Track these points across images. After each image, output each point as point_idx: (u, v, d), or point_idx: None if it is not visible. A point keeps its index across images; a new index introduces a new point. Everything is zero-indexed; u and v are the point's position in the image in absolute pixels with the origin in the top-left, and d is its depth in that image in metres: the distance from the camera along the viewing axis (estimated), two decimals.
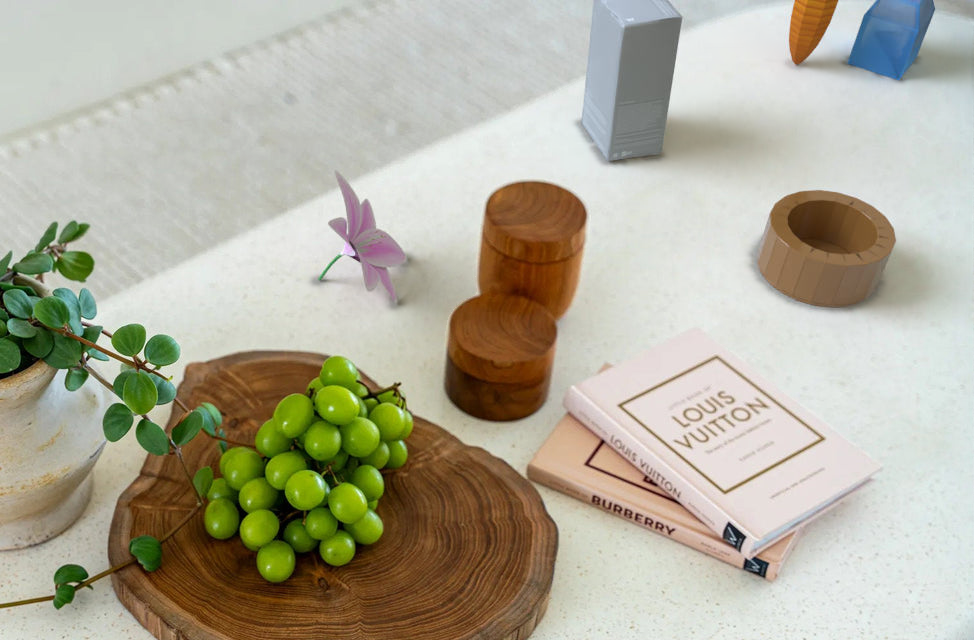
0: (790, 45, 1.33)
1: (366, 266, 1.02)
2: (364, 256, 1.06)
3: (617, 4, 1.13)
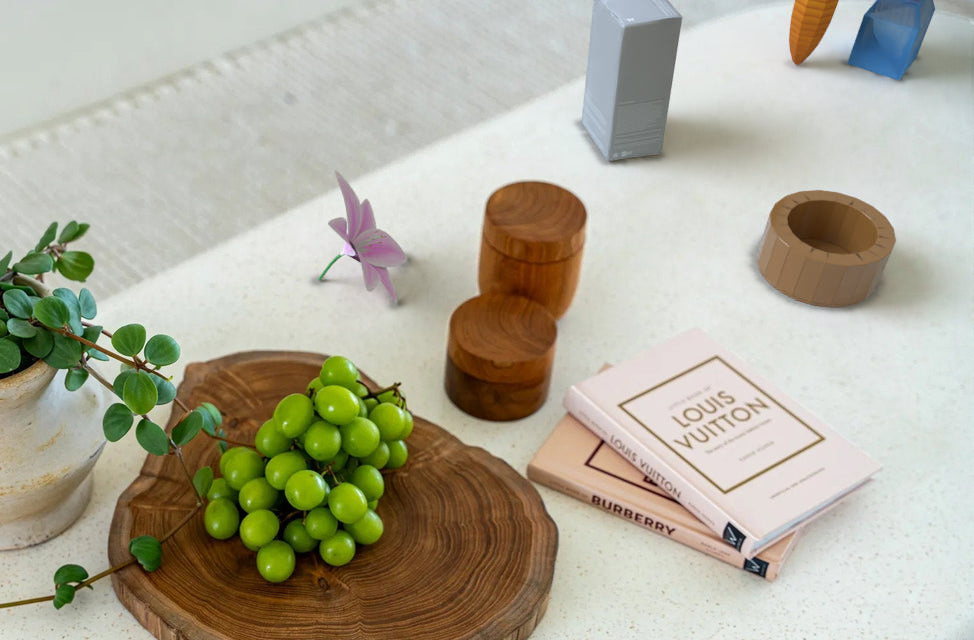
0: (790, 45, 1.33)
1: (366, 266, 1.02)
2: (364, 256, 1.06)
3: (617, 4, 1.13)
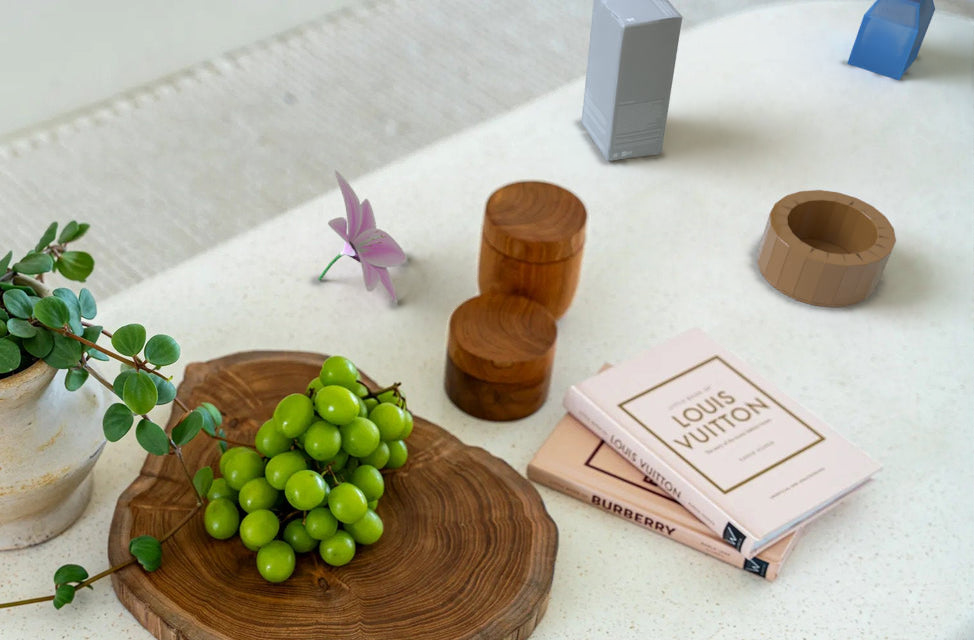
0: None
1: (366, 266, 1.02)
2: (364, 256, 1.06)
3: (617, 4, 1.13)
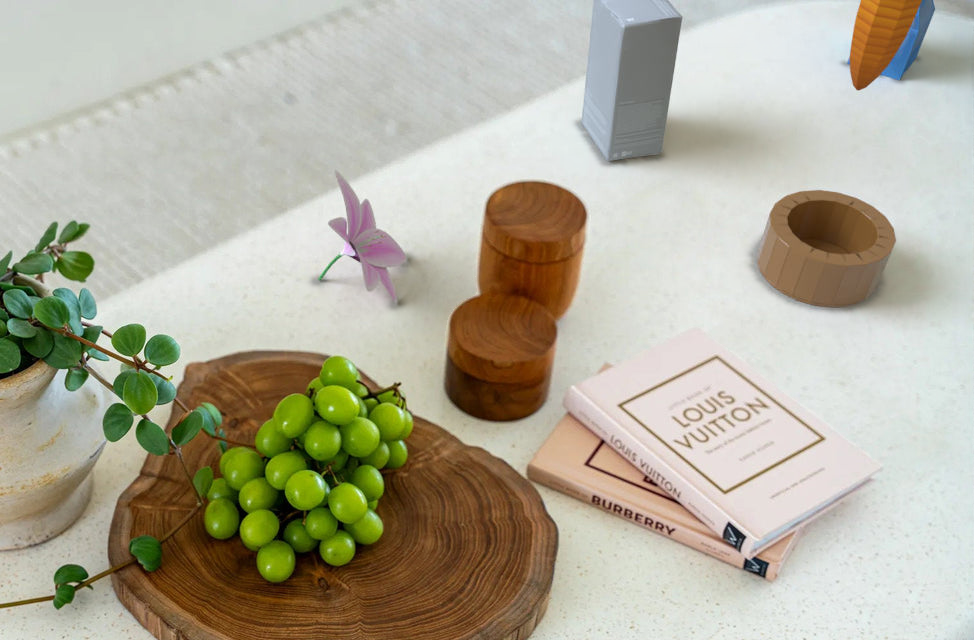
0: (851, 65, 1.02)
1: (366, 266, 1.02)
2: (364, 256, 1.06)
3: (617, 4, 1.13)
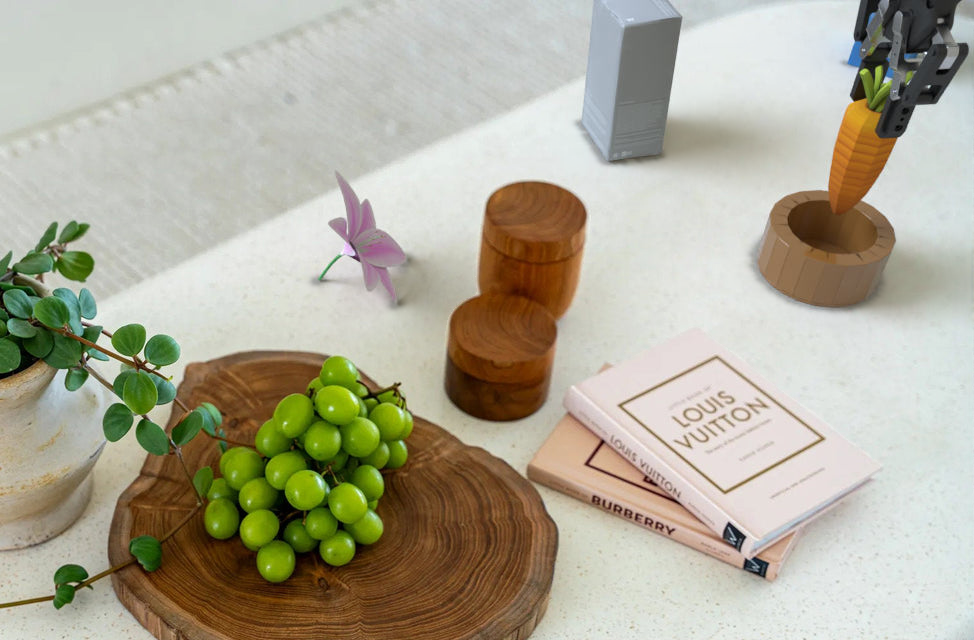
0: (830, 193, 1.03)
1: (366, 266, 1.02)
2: (364, 256, 1.06)
3: (617, 4, 1.13)
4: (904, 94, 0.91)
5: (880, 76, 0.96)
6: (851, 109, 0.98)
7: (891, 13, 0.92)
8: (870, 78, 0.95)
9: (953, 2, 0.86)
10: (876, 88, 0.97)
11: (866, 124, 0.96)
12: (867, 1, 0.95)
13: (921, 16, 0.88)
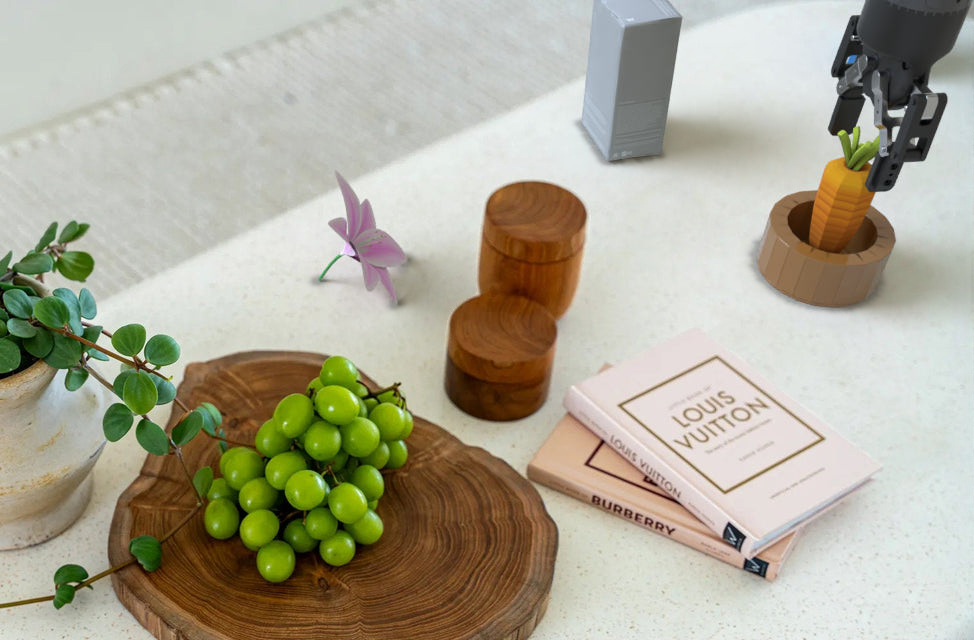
0: (811, 245, 1.08)
1: (366, 266, 1.02)
2: (364, 256, 1.06)
3: (617, 4, 1.13)
4: None
5: (857, 136, 1.01)
6: (830, 167, 1.02)
7: (868, 71, 0.96)
8: (848, 139, 1.00)
9: (927, 64, 0.90)
10: (854, 148, 1.01)
11: (844, 182, 1.01)
12: (847, 46, 0.99)
13: (898, 76, 0.92)
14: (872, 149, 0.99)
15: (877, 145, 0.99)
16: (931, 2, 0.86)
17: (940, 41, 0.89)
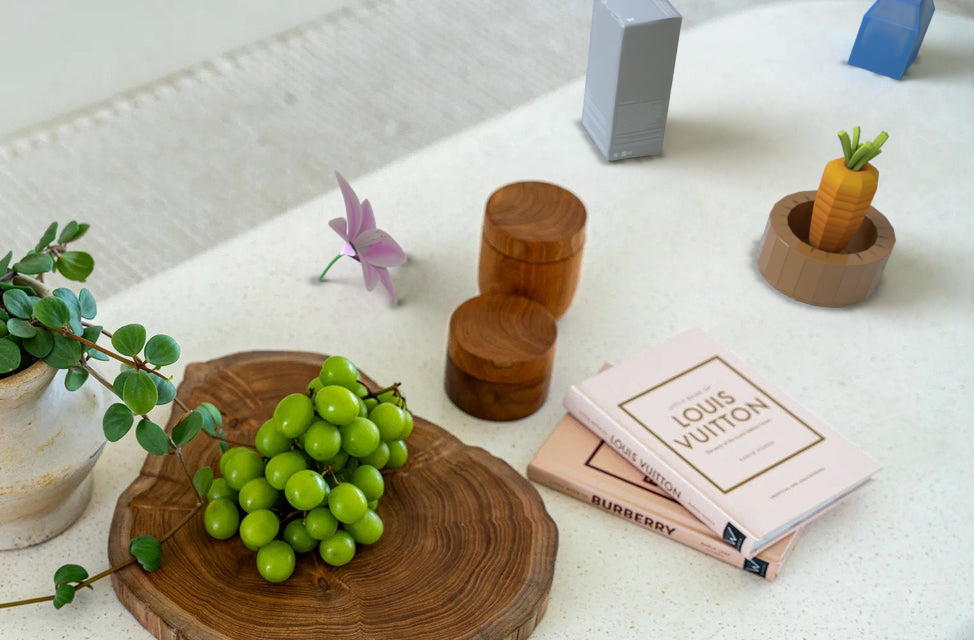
0: (811, 245, 1.08)
1: (366, 266, 1.02)
2: (364, 256, 1.06)
3: (617, 4, 1.13)
4: None
5: (857, 136, 1.01)
6: (830, 167, 1.02)
7: None
8: (848, 139, 1.00)
9: None
10: (854, 148, 1.01)
11: (844, 182, 1.01)
12: None
13: None
14: (872, 149, 0.99)
15: (877, 144, 0.99)
16: None
17: None
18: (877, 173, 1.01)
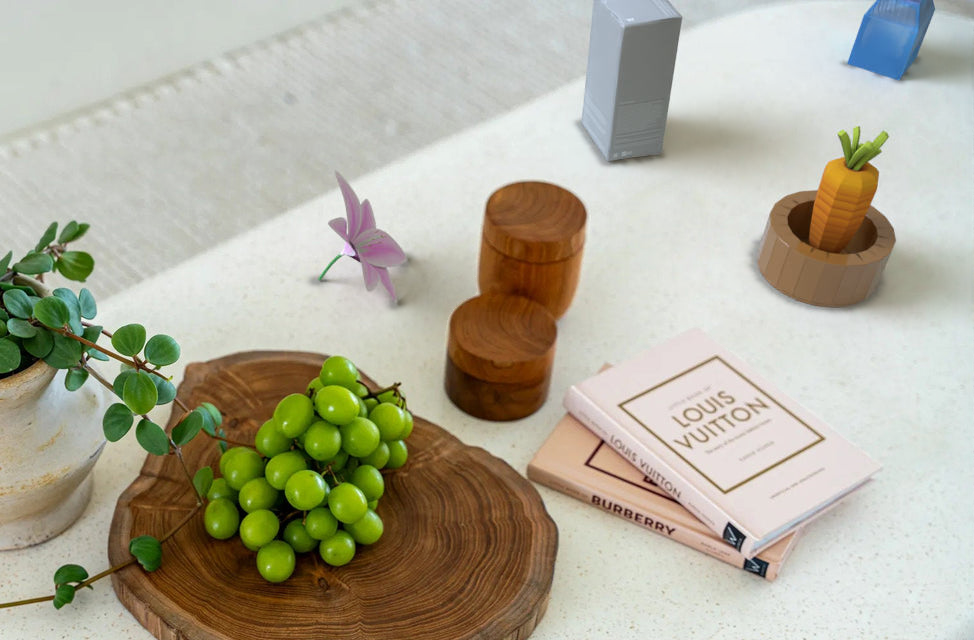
0: (811, 245, 1.08)
1: (366, 266, 1.02)
2: (364, 256, 1.06)
3: (617, 4, 1.13)
4: None
5: (857, 136, 1.01)
6: (830, 167, 1.02)
7: None
8: (848, 139, 1.00)
9: None
10: (854, 148, 1.01)
11: (844, 182, 1.01)
12: None
13: None
14: (872, 149, 0.99)
15: (877, 145, 0.99)
16: None
17: None
18: (877, 173, 1.01)
